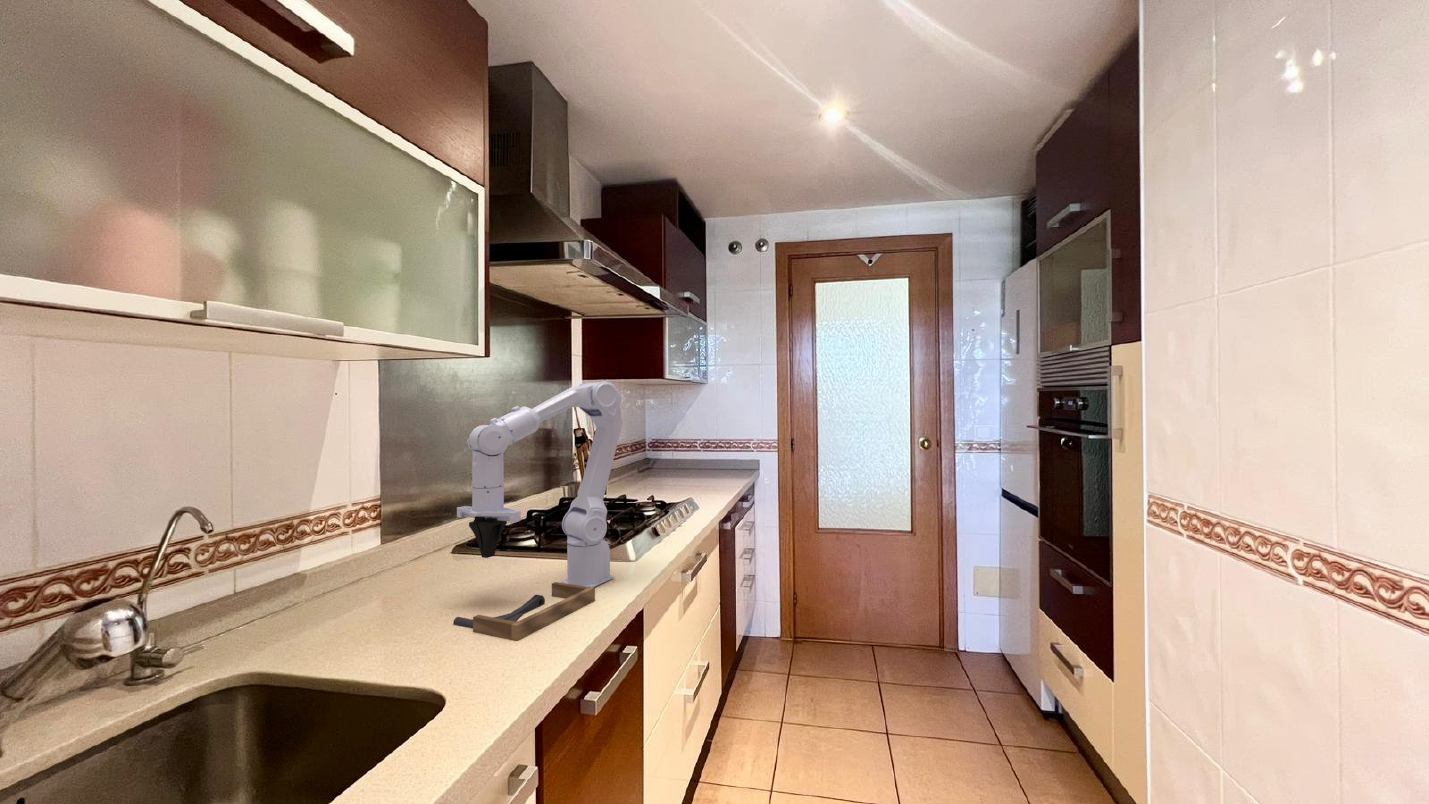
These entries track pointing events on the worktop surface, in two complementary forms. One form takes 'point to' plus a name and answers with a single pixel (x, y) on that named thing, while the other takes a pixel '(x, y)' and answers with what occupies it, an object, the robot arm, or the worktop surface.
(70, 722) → the worktop surface
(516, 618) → the bracket
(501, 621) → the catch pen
